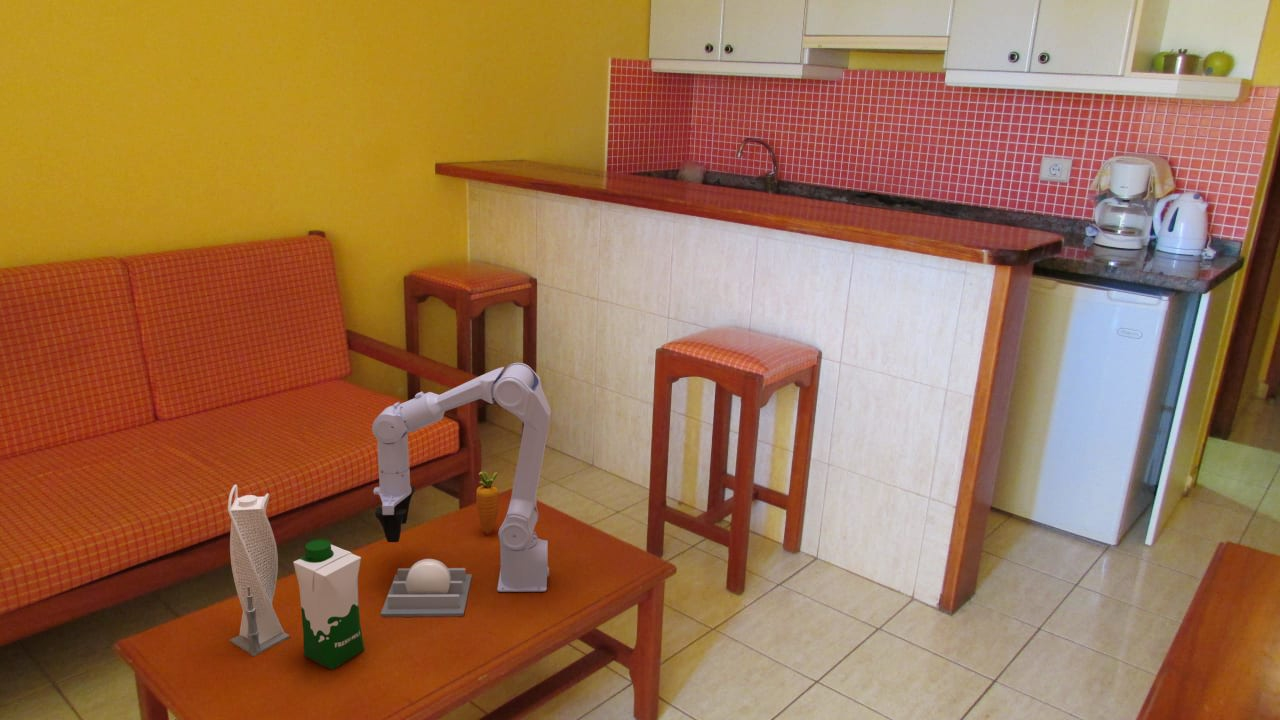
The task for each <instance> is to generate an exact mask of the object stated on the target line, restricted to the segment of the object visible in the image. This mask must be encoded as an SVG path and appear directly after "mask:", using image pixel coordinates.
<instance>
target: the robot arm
mask: <svg viewBox="0 0 1280 720" xmlns="http://www.w3.org/2000/svg"><path fill="white" fill-rule="evenodd" d="M503 370H504V371H503ZM502 371H503V372H502ZM547 399H548V398H547V397H546V394H545V392H544V390H543V387H542V382H541V377H540V376H539V375H538V374H537V373H536V372H535V371H534V370H533V369H532V367H530V366H529V365H528V364H526V363H523V362H514V363H510V364H509V365H508V366H507V367H506V368H505V366H502V367H498V368H496V369H493V370H491V371H489V372H486V373H484V374H482V375H480V376H477V377H475V378H473V379H471V380H468V381H467V382H464V383H461V384H460V385H458V386H456V387H453V388H452V389H449V390H447V391H445V392H443V393H441V394H437V393H434V392H431V391H428V392H426V393H424V392H423V391H420V392H417V393H416V394H415V395H414V397H413V398H412V399H409V400H407V401H405V402H402V403H400V401H398V402H396V403H394V404H393V405H389V406H387V407H386V408H384V409H383V410H382V411H381V413H379V414H378V415H377V417H376V418H375V419H374V421H373V423H372V425H371V431H372V434H373V436H374V437H375V438H376V440H377V464H378V479H379V480H378V481H379V482H378V483H379V486H376V487H374V489H373V495H378V496H379V498H380V500H381V503H382V505H381V507H379V506H377V507H376V508H375V511H374V515H375V517H376V519H377V520H378V521H379V523H380V524H381V527H382V529H383V531H384V535H385V538H386V541H387V543H399V541H400V538H401V531H402V525H406V523H407V521H408V516H409V509H410V503H411V499H412V497H413V495H414V493H415V490H416V487H415V486H414V485H411V475H410V455H409V454H410V453H409V452H410V451H409V449H410V448H409V439H408V438H409V437H408V433H413V432H416V431H418V430H420V429H422V428H425V427H427V426H429V425H433V424H434V423H437V422H439V421H441V420H443V418H444V415H445V413H446V412H447V411H450V410H453V409H455V408H459V407H461V406H463V405H467V404H469V403H472V402H474V401H477V400H483V401H485V402H487V403H489V404H492V405H493V404H494V403H495V402H496V403H497V404H498V405H499V406H500V407H501V408H503V409H504V410H506V411H507V412H510V413H511V414H513V415H515V416H517V417H518V418H519V420H520V421H521V422H522V423H523V429H522V435H521V441H520V446H519V450H518V451H519V452H518V456H517V463H516V468H515V475H514V480H513V485H512V491H511V497H510V501H509V505H508V508H507V513H506V515H505V517H504V520H503V521H502V524H501V525H500V527H499V529H498V535H497V536H498V540H499V542H500V545H499V546H500V571H499V576H498V577H499V578H498V581H497V582H498V583H497V588H496V590H497V592H499V593H505V592H506V593H510V592H511V593H514V592H516V593H517V592H518V593H520V592H521V593H523V592H528V593H529V592H531V593H535V592H537V593H539V592H540V593H541V592H543V593H544V592H546V591H547V589H548V587H547V586H548V577H549V576H550V567H549V566H548V565H549V563H548V559H549V558H548V557H549V556H548V555H549V554H548V553H549V552H548V551H549V549H548V546H549V544H548V542H549V541H548V540H545V539H541V538H538V536H537V533H536V531H535V528H536V527H535V526H536V525H537V523H538V521H539V511H538V508H537V502H538V497H537V494H538V487H539V484H540V478H541V472H542V466H543V462H544V456H545V451H546V445H547V440H548V434H549V430H550V423H551V418H552V409H551V407H550V405H549V402H548V400H547Z"/></svg>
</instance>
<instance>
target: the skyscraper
mask: <svg viewBox="0 0 1280 720" xmlns="http://www.w3.org/2000/svg"><path fill="white" fill-rule="evenodd" d="M238 487H239V486H238V485H237V483H236V484H234V485H233V486H232V487H231V490H230V493H229V495H228V500H227V501H228V502H227V513H228V514H229V517H230V519H231V523H230V535H229V536H230V537H229V553H230V554H229V555H230V564H231V565H230V566H231V572H232V576H233V581H234V585H235V588H236V594H237V596H238V599H239V603H240V606H241V608H242V616H241V621H240V628H239V634H238V635H236V636H235V637H232V638H231V639H229V642H230V644H232V643H233V644H232V645H234V644H235V645H234V646H235V647H237V646H238V648H239V647H240V648H241V650H242V649H243V650H242V651H243V652H245V651H246V652H245V653H247V654H248V655H250V654H251V655H250V656H252V657H256V656H257V655H259V654H261V653H263V651H264V652H265V651H267V650H269V649H271V648H273V647H275V646H276V644H277V645H278V643H279V644H280V643H282V642H285V641H286V640H288V639H290V638H291V637H290V636H291V635H290V634H288V633H286V632H285V630H284V629H283V627H282V625H281V623H280V620H279V618H278V615H277V613H276V611H275V609H274V606H273V601H274V597H275V592H276V586H277V582H278V572H279V571H278V569H279V558H278V557H279V556H278V555H279V554H278V547H277V542H276V538H275V535H274V532H273V529H272V525H271V523H270V521H269V518H268V515H267V514H266V513H267V512H266V511H267V507H268V503H269V500H270V494H269V493H268V492H267V493H265V494H264V496H257V495H254V494H249V495H248V494H247V495H243V496H241V497H238V495H239V494H238V492H239V491H238ZM233 495H234V501H233V503H232V499H233ZM240 648H239V649H240Z"/></svg>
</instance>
